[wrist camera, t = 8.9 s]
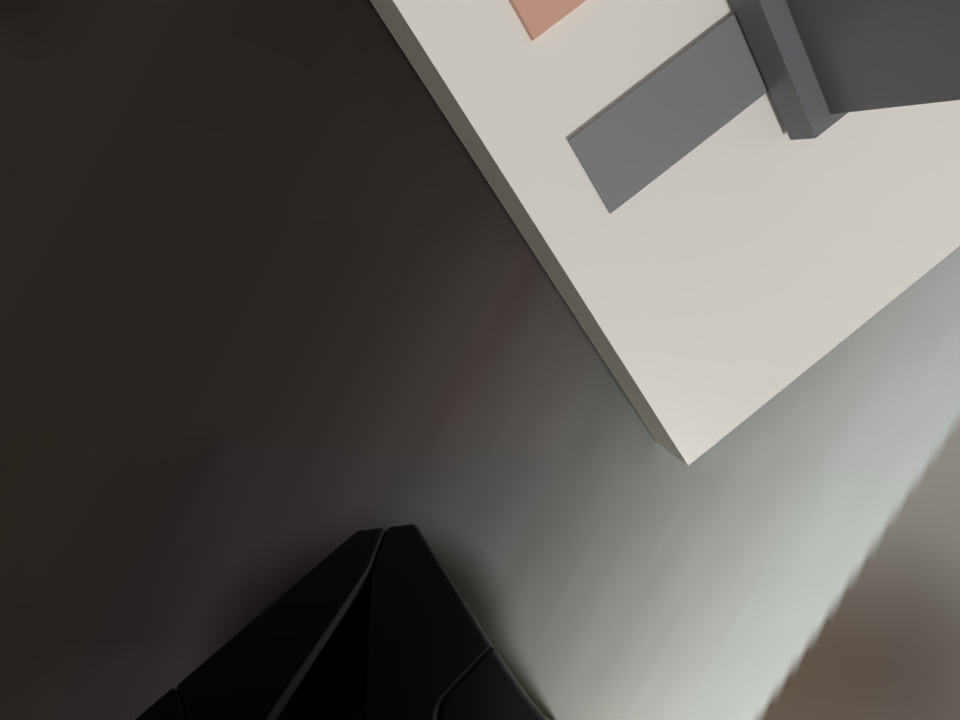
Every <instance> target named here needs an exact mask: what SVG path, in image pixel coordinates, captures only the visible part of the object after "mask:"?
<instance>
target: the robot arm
mask: <svg viewBox="0 0 960 720" xmlns="http://www.w3.org/2000/svg"><path fill="white" fill-rule="evenodd" d="M177 690H178V691H177ZM177 690H176V689H171V690H169V691H168V692H167V693H166V694H165V695H164V696H162V697H161V698H160V699H159V700H158V701H157V702H155V703H154V704H153V705H152V706H151V707H150V708H148V709H147V710H146V711H145V712H144V713H142V714H141V715H140V716H139V717H138V718H136V719H135V720H548V719H547V718H546V717H545V716H544V714H543V713H542V712H541V711H540V710H539V709H538V707H537V706H536V705H535V704H534V703H533V701H532V700H531V699H530V698H529V696H528V695H527V693H526V692H525V690H524V689H523V688H522V686H521V685H520V683H519V682H518V681H517V679H516V678H515V676H514V675H513V674H512V672H511V671H510V669H509V668H508V666H507V665H506V663H505V662H504V660H503V658H502V657H501V655H500V654H499V652H498V651H496V649H495V647H494V646H493V644H492V643H491V641H490V639H489V638H488V636H487V635H486V633H485V632H484V630H483V629H482V627H481V625H480V624H479V622H478V621H477V619H476V618H475V616H474V614H473V613H472V611H471V610H470V608H469V607H468V605H467V603H466V602H465V600H464V599H463V597H462V596H461V594H460V593H459V591H458V589H457V588H456V586H455V585H454V583H453V582H452V580H451V578H450V577H449V575H448V574H447V572H446V571H445V569H444V567H443V566H442V564H441V563H440V561H439V560H438V558H437V557H436V555H435V553H434V552H433V550H432V549H431V547H430V546H429V544H428V542H427V541H426V539H425V538H424V536H423V535H422V533H421V531H420V530H419V528H418V527H417V526H416V525H414V524H411V525H403V526H395V527H390V528H389V529H388V530H387V531H386V530H385V529H383V528H378V529H369V530H360V531H358V532H356V533H355V534H353V535H352V536H351V537H350V538H349V539H348V540H346V541H345V542H344V543H343V544H342V545H341V546H339V547H338V548H337V549H336V550H335V551H334V552H332V553H331V554H330V555H329V556H328V557H326V558H325V559H324V560H323V561H322V562H321V563H319V564H318V565H317V566H316V567H315V568H314V569H312V570H311V571H310V572H309V573H308V574H307V575H305V576H304V577H303V578H302V579H301V580H300V581H298V582H297V583H296V584H295V585H294V586H293V587H291V588H290V589H289V590H288V591H287V592H286V593H284V594H283V595H282V596H281V597H280V598H279V599H277V600H276V601H275V602H274V603H273V604H272V605H270V606H269V607H268V608H267V609H266V610H265V611H263V612H262V613H261V614H260V615H259V616H258V617H256V618H255V619H254V620H253V621H252V622H251V623H249V624H248V625H247V626H246V627H245V628H244V629H242V630H241V631H240V632H239V633H238V634H237V635H235V636H234V637H233V638H232V639H231V640H230V641H228V642H227V643H226V644H225V645H224V646H223V647H221V648H220V649H219V650H218V651H217V652H216V653H214V654H213V655H212V656H211V657H210V658H209V659H207V660H206V661H205V662H204V663H203V664H202V665H200V666H199V667H198V668H197V669H196V670H195V671H193V672H192V673H191V674H190V675H189V676H187V677H186V678H185V679H184V680H183V681H182V682H180V683H179V684H178V686H177Z"/></svg>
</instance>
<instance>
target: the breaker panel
mask: <svg viewBox="0 0 960 720" xmlns="http://www.w3.org/2000/svg"><path fill="white" fill-rule="evenodd" d="M370 1H371V3H372V5H373V6H374V8H375V9H376V11H377V12H378V14H379V15H380V17H381V18H382V20H383V22H384V23H385V25H386V26H387V28H388V29H389V31H390V32H391V34H392V35H393V37H394V38H395V40H396V42H397V43H398V45H399V46H400V48H401V49H402V51H403V52H404V54H405V55H406V57H407V58H408V60H409V62H410V63H411V65H412V66H413V68H414V69H415V71H416V72H417V74H418V75H419V77H420V79H421V80H422V82H423V83H424V85H425V86H426V88H427V89H428V91H429V92H430V94H431V95H432V97H433V99H434V100H435V102H436V103H437V105H438V106H439V108H440V109H441V111H442V112H443V114H444V115H445V117H446V119H447V120H448V122H449V123H450V125H451V126H452V128H453V129H454V131H455V132H456V134H457V136H458V137H459V139H460V140H461V142H462V143H463V145H464V146H465V148H466V149H467V151H468V152H469V154H470V156H471V157H472V159H473V160H474V162H475V163H476V165H477V166H478V168H479V169H480V171H481V173H482V174H483V176H484V177H485V179H486V180H487V182H488V183H489V185H490V186H491V188H492V189H493V191H494V193H495V194H496V196H497V197H498V199H499V200H500V202H501V203H502V205H503V206H504V208H505V209H506V211H507V213H508V214H509V216H510V217H511V219H512V220H513V222H514V223H515V225H516V226H517V228H518V230H519V231H520V233H521V234H522V236H523V237H524V239H525V240H526V242H527V243H528V245H529V246H530V248H531V250H532V251H533V253H534V254H535V256H536V257H537V259H538V260H539V262H540V263H541V265H542V266H543V268H544V270H545V271H546V273H547V274H548V276H549V277H550V279H551V280H552V282H553V283H554V285H555V287H556V288H557V290H558V291H559V293H560V294H561V296H562V297H563V299H564V300H565V302H566V303H567V305H568V307H569V308H570V310H571V311H572V313H573V314H574V316H575V317H576V319H577V320H578V322H579V323H580V325H581V327H582V328H583V330H584V331H585V333H586V334H587V336H588V337H589V339H590V340H591V342H592V344H593V345H594V347H595V348H596V350H597V351H598V353H599V354H600V356H601V357H602V359H603V360H604V362H605V364H606V365H607V367H608V368H609V370H610V371H611V373H612V374H613V376H614V377H615V379H616V380H617V382H618V384H619V385H620V387H621V388H622V390H623V391H624V393H625V394H626V396H627V397H628V399H629V401H630V402H631V404H632V405H633V407H634V408H635V410H636V411H637V413H638V414H639V416H640V417H641V419H642V421H643V422H644V424H645V425H646V427H647V428H648V430H649V431H650V433H651V434H652V436H653V437H654V439H655V441H656V442H657V443H658V444H659V445H661V446H662V447H663V448H665V449H666V450H667V451H669V452H670V453H672V454H673V455H674V456H676V457H677V458H678V459H680V460H681V461H682V462H684V463H685V464H687V465H690V464H691V463H692V462H693V461H695V460H696V459H697V458H698V457H700V456H701V455H702V454H703V453H704V452H706V451H707V450H708V449H709V448H711V447H712V446H713V445H714V444H716V443H717V442H718V441H719V440H720V439H722V438H723V437H724V436H725V435H727V434H728V433H729V432H730V431H732V430H733V429H734V428H735V427H737V426H738V425H739V424H740V423H741V422H743V421H744V420H745V419H746V418H748V417H749V416H750V415H751V414H753V413H754V412H755V411H756V410H757V409H759V408H760V407H761V406H762V405H764V404H765V403H766V402H767V401H769V400H770V399H771V398H772V397H774V396H775V395H776V394H777V393H778V392H780V391H781V390H782V389H783V388H785V387H786V386H787V385H788V384H790V383H791V382H792V381H793V380H794V379H796V378H797V377H798V376H799V375H801V374H802V373H803V372H804V371H806V370H807V369H808V368H809V367H811V366H812V365H813V364H814V363H815V362H817V361H818V360H819V359H820V358H822V357H823V356H824V355H825V354H827V353H828V352H829V351H830V350H831V349H833V348H834V347H835V346H836V345H838V344H839V343H840V342H841V341H843V340H844V339H845V338H846V337H848V336H849V335H850V334H851V333H852V332H854V331H855V330H856V329H857V328H859V327H860V326H861V325H862V324H864V323H865V322H866V321H867V320H868V319H870V318H871V317H872V316H873V315H875V314H876V313H877V312H878V311H880V310H881V309H882V308H883V307H885V306H886V305H887V304H888V303H889V302H891V301H892V300H893V299H894V298H896V297H897V296H898V295H899V294H901V293H902V292H903V291H904V290H905V289H907V288H908V287H909V286H910V285H912V284H913V283H914V282H915V281H917V280H918V279H919V278H920V277H922V276H923V275H924V274H925V273H926V272H928V271H929V270H930V269H931V268H933V267H934V266H935V265H936V264H938V263H939V262H940V261H941V260H942V259H944V258H945V257H946V256H947V255H949V254H950V253H951V252H952V251H954V250H955V249H956V248H957V247H959V246H960V100H955V101H946V102H937V103H928V104H919V105H910V106H901V107H892V108H883V109H874V110H864V111H855V112H848V113H847V114H846V115H845V116H843V117H842V118H841V119H839V120H838V121H837V122H836V123H834V124H833V125H832V126H831V127H829V128H828V129H827V130H826V131H824V132H823V133H822V134H820V135H819V136H818V137H817V138H812V139H798V140H790V138H789V136H788V133H787V131H786V129H785V126H784V124H783V122H782V119H781V117H780V115H779V112H778V110H777V108H776V105H775V103H774V101H773V98H772V96H771V94H770V91H769V89H768V87H767V84H766V82H765V80H764V77H763V75H762V73H761V70H760V68H759V66H758V63H757V61H756V59H755V56H754V54H753V51H752V49H751V47H750V44H749V42H748V40H747V37H746V35H745V33H744V30H743V28H742V26H741V23H740V21H739V19H738V16H737V14H736V12H735V9H734V7H733V5H732V2H731V0H370Z"/></svg>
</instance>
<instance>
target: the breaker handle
mask: <svg viewBox="0 0 960 720" xmlns="http://www.w3.org/2000/svg"><path fill="white" fill-rule="evenodd" d="M731 2H732V5H733V7H734V9H735V12H736V14H737V16H738V19H739V21H740V23H741V26H742V28H743V30H744V33H745V35H746V37H747V40H748V42H749V44H750V47H751V49H752V51H753V54H754V56H755V59H756V61H757V63H758V66H759V68H760V70H761V73H762V75H763V77H764V80H765V82H766V84H767V87H768V89H769V91H770V94H771V96H772V98H773V101H774V103H775V105H776V108H777V110H778V112H779V115H780V117H781V119H782V122H783V124H784V126H785V129H786V131H787V133H788V136H789V138H790V140H798V139H812V138H817V137H818V136H819V135H820V134H822V133H823V132H824V131H826V130H827V129H828V128H829V127H831V126H832V125H833V124H834V123H836V122H837V121H838V120H839V119H841V118H842V117H843V116H845V115H846V114H847V113H848V112H855V111H864V110H874V109H883V108H892V107H901V106H910V105H919V104H928V103H937V102H946V101H955V100H960V0H731Z"/></svg>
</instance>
